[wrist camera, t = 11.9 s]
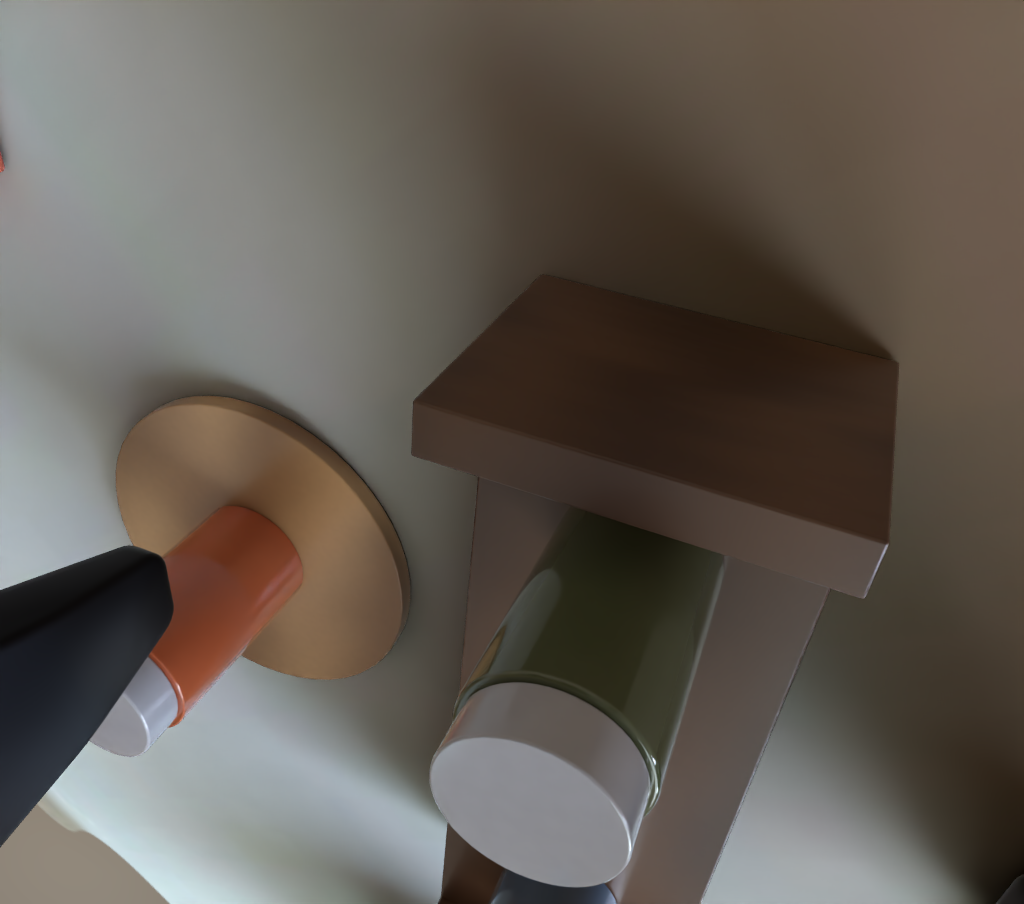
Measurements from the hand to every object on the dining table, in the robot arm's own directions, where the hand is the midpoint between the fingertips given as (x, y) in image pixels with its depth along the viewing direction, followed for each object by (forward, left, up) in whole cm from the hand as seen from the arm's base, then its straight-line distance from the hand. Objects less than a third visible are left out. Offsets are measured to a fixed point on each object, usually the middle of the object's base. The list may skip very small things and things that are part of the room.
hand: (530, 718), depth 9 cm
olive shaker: (0, +6, -10) cm, 11 cm away
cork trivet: (+13, +13, -12) cm, 22 cm away
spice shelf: (0, +13, -12) cm, 18 cm away
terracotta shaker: (+13, +13, -12) cm, 22 cm away
